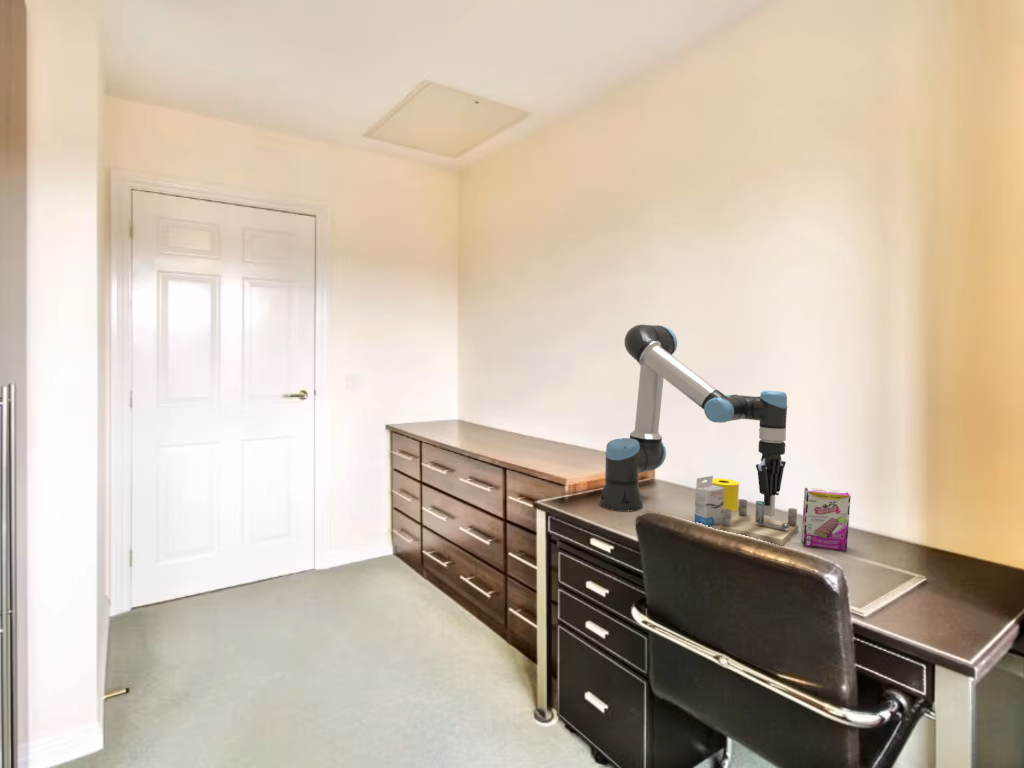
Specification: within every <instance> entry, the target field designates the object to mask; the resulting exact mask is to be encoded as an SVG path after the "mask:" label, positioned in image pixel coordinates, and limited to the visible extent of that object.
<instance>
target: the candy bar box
mask: <svg viewBox="0 0 1024 768" xmlns="http://www.w3.org/2000/svg"><path fill="white" fill-rule="evenodd" d="M803 493H804V494H803V506H802V507H803V508H802V509H803V510H802V522H801V523H802V524H801V536H800V537H801V544H802V546H803V547H808V548H815V549H824V550H833V551H841V552H847V550H848V549H847V548H848V537H849V525H850V524H849V523H850V509H851V497H852V496H851V495H850V493H848V491H844V490H835V489H823V488H817V487H816V488H815V487H813V488H812V487H804V492H803Z"/></svg>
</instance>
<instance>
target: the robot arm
mask: <svg viewBox="0 0 1024 768" xmlns="http://www.w3.org/2000/svg"><path fill="white" fill-rule="evenodd" d="M677 339H678V338H677V336H676V334H675V332H674V331H673V330H672V329H670V328H669V327H667V326H664V325H655V324H653V325H652V324H637V325H635V326H632V327H631V328H630V329H628V331H627V332H626V334H625V337H624V347H625V350H626V351H627V353H628V354H629V355H630V356H631V357H632V358H633V359H634V360H635V361H636V362H637V363H638V364H639V367H640V369H639V370H640V371H639V377H638V379H639V380H638V390H637V393H638V394H637V399H636V400H637V402H636V411H635V421H634V422H635V424H634V430H633V431H631V432H630V433H629V438H628V437H626V438H625V437H624V438H623V437H622V438H615V439H611V440H610V441H608V442H607V444H606V448H605V471H604V472H605V475H604V476H605V477H604V480H605V481H604V486H603V489H602V490H601V494H600V497H599V505H600V506H601V507H602V508H604V507H605V509H607V508H608V509H607V510H611V509H613V510H612V511H617V510H621V511H620V512H632V511H631V510H635V511H639V510H641V509H642V508H643V507H644V506H643V504H644V502H643V501H644V500H643V497H642V494H641V490H640V487H639V477H640V475H639V474H641V473H646V472H650V471H654V470H656V469H658V468H660V467H661V466H662V465H663V464H664V462H665V460H666V456H667V450H666V447H665V446H664V442H662V439H663V436H662V434H660V433H659V430H660V429H659V428H660V427H659V426H660V418H661V408H662V407H661V406H662V399H663V398H662V397H663V390H664V389H663V387H664V380H665V381H666V382H668V383H669V384H670V385H672V386H673V387H674V388H676V389H677V390H678V391H679V392H680V393H682V394H683V395H685V396H686V397H687V398H688V399H690V400H691V402H693V403H694V404H696V405H697V406H698V407H700V408H701V409H702V410H703V411H704V414H705V417H706V419H708V420H709V421H710V422H712V423H718V424H719V423H720V424H721V423H727V422H730V421H737V420H752V421H759V429H758V431H759V432H758V434H759V435H758V438H759V441H758V452H759V453H760V454H761V458H760V463H757V464H755V469H756V471H757V479H758V490H759V493H760V494H761V495H763V496H764V497H763V502H765V506H764V516H768V517H771V518H772V517H775V507H776V506H775V504H776V496H779V495H780V493H779V492H781V486H782V480H783V474H784V469H785V466H786V461H784V460H782V456H783V455H785V454H786V442H785V441H786V440H787V439H786V435H787V433H786V432H787V416H788V415H787V414H788V413H787V412H788V395H787V394H786V392H784V391H779V390H763V391H761V392H760V396H752V395H740V394H739V395H738V394H726V395H725V394H724V393H723V392H721V391H720V390H718V388H716V387H715V386H713V385H712V384H711V383H710V382H708V381H707V380H705V379H704V378H703V377H702V376H700V374H697V373H696V372H695V371H693V370H692V369H691V368H689V367H688V366H687V365H686V364H684V363H683V362H682V361H680V360H679V359H677V358H676V357H675V356H674V355H673V354H674V353H676V350H677V347H678V340H677ZM638 509H639V510H638ZM628 510H629V511H628Z"/></svg>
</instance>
